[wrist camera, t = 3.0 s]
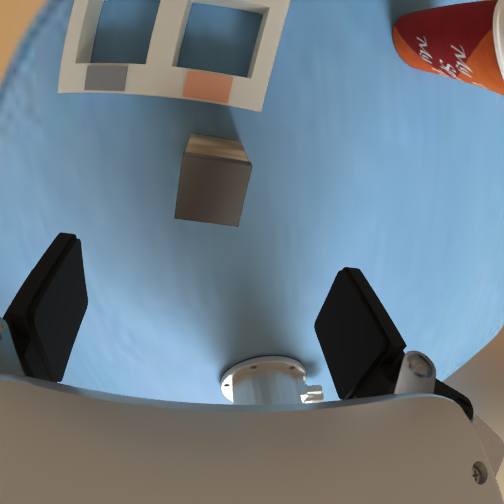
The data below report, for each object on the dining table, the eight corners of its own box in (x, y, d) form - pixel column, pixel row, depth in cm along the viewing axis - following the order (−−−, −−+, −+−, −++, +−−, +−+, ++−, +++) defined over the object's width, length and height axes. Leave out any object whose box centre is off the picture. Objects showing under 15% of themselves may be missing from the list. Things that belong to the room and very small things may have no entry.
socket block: (284, -5, 16) (295, -15, 14) (255, 107, 22) (261, 112, 19) (97, -21, 13) (82, -32, 10) (73, 89, 18) (55, 93, 16)
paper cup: (377, 66, 20) (505, 87, 9) (385, -8, 16) (507, -29, 4) (441, 90, 21) (558, 132, 10) (449, 23, 17) (566, 36, 6)
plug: (241, 140, 23) (252, 166, 17) (231, 186, 25) (237, 226, 19) (190, 132, 22) (182, 155, 16) (183, 180, 24) (174, 218, 19)
